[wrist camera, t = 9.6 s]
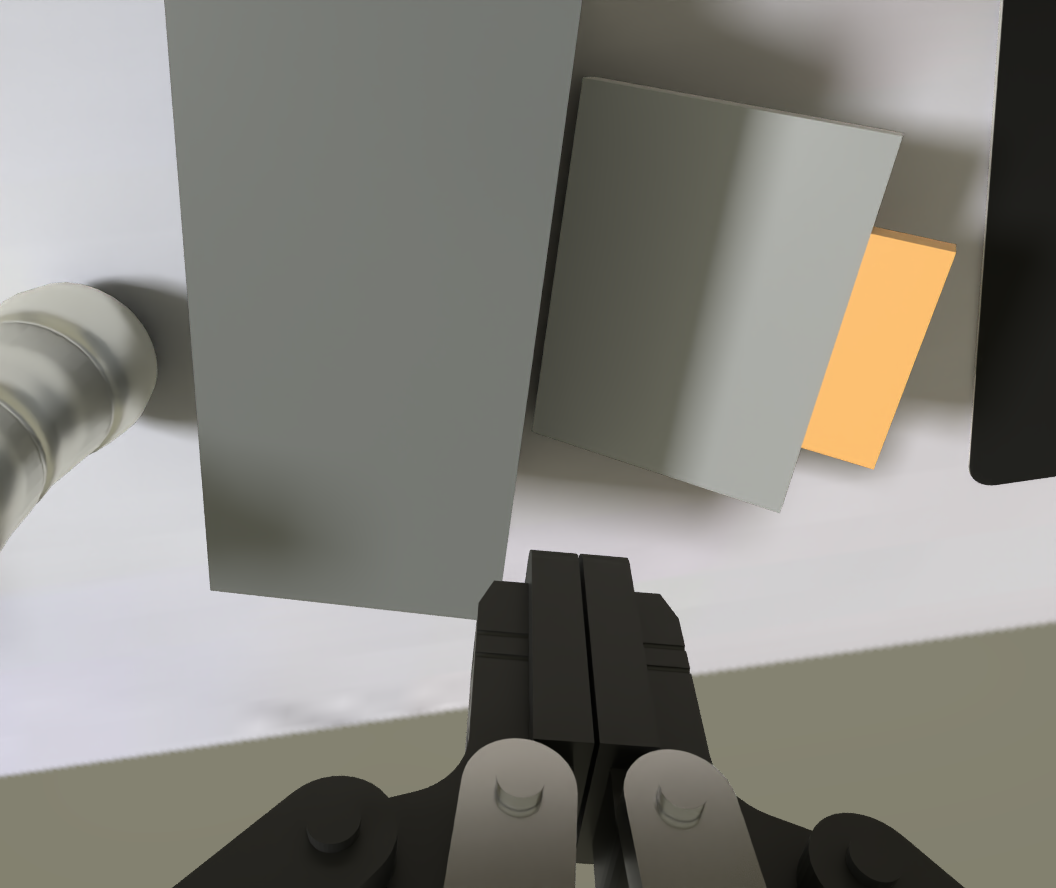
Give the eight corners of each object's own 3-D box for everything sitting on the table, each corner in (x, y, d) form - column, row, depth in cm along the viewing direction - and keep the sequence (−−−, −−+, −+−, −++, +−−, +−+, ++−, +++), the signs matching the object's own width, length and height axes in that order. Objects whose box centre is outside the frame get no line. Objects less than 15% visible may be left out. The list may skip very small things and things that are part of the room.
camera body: (277, -143, 27) (148, -194, 19) (584, -98, 28) (599, -128, 19) (288, 447, 38) (210, 590, 29) (508, 474, 38) (496, 622, 30)
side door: (581, 77, 29) (994, 153, 25) (593, 75, 30) (992, 148, 26) (531, 432, 36) (848, 537, 32) (541, 421, 37) (851, 521, 33)
